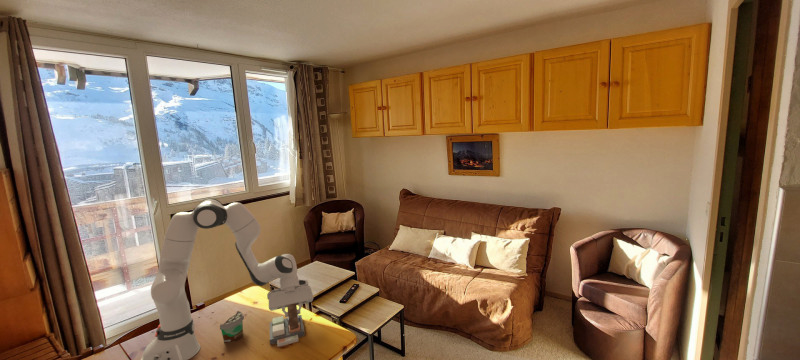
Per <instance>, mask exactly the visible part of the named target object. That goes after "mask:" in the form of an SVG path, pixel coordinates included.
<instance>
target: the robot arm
mask: <svg viewBox="0 0 800 360" xmlns="http://www.w3.org/2000/svg"><path fill="white" fill-rule="evenodd" d="M222 225H225V226H227V227H228V228H229V229H230V231H231V232H232V233H233V235H234V237H235V243H234V244H235V248H236V251H237V253H238V255H239V257H240V259H241V260H242V262H243V264H244V265H245V267H246V269H247V272H248V273H249V276H250V279H251V281H252V283H253V284H255V285H257V286H261V287H262V286H265V285H268V283H270V282H272V281H275V280H276V279H279V288H277V289H271V290H269V291H268V292H267V300H268V310H269V311H271V312H272V311H275V310H281V311H282V313H284V317H285V318H288V311H286V308H288V307H287V305H291V304H296V305H297V306H298V307H299V308H297V314H298V315H302V314H301V309H302V307H303V305H304V304H307V303H312V302H313V300H314V296H313V295H314V294H313V291H312V287H311V286H310V285H309V281H308V280H307V279H299V276H298V267H297V262H296V259H295V257H294V255H292V254H290V253H283V254H281V255H276V256H274V257H272V258H270V259H267V260H266V261H264V262H262V263H260V262H258V260H257V258H256V256H255V254H254V252H253V250H252V246H253V244H254V243H255V241H257V239H258V238H259V236H260V235H261V231H262V229H261V227H262V226H261V224H260V223H259V221H258V219H256V217H255V216H254V214H253V213H252V212H251V211H250V210H249V209H248V208H247V207H246V206H245V205H244V204H243V203H241V202H237V201H236V202H231V203H229V204H228V205H224V204H223V203H222V202H221V201H220V200H218V199H215V198H207V199H203V200H202V201H200V202H199V203H198V204H197V205H196V206H195V207H194V208H193V209H192V211H190V212H188V211H181V212H177V213H175V214H174V215H173V216H172V217H171V219H170V221H169V223H168V226H167V227H166V228H167V229H166V230H165V233H164V239H163V242H162V243H163V244H162V247H161V251H160V257H159V263H158V264H159V265H158V268H157V273H156V275H155V278H154V281H153V283H152V284H151V286H150V287H151V288H150V295H151V299H152V300H153V303H154V305H155V307H156V310H157V314H158V319H159V325H158V326H157V327H156V331H155V334H154V335H155V336H154V337H155V338H154V339H152V340H151V341H150V343H148V344H147V346H146V347H145V349H144V350H143V355H142V357H141V358H140V360H190V359H191V358H193V357H194V356H196V354H197V353H198V352H199V351H200V349H201V345H200V343H199V341H198V339H197V337H196V334H195V323H194V319H193V318H192V313H191V307H190V306H191V305H190V302H189V300H188V298H187V297H188V296H187V293H186V289H185V287H186V280H187V278H188V277H187V276H188V273H189V272H188V271H189V268H190V264H191V260H192V255H193V250H194V248H195V243H196V239H197V236H198V231H199V229H200V228H201V229H203V230H208V229H213V228H216V227H220V226H222Z"/></svg>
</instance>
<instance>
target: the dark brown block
mask: <svg viewBox="0 0 800 360" xmlns="http://www.w3.org/2000/svg"><path fill="white" fill-rule="evenodd" d="M297 306H298V305H296V304H291V305H287V307H286V308H287V312H288V317H289V326H290V329H293V328H297V327H299V324H298V315H299V314H297V310H298V307H297ZM288 317H287V318H288Z"/></svg>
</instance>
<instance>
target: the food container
mask: <svg viewBox="0 0 800 360" xmlns="http://www.w3.org/2000/svg"><path fill="white" fill-rule="evenodd" d="M244 317H245V316H244V314H243V313H242V312H241V311H240V310H237V311H236V313H235V314H234V315H233V316H231V317H229V318H228V319H227V320H226V321H225V322H224V323H223V324H221V323H220V325H219V330H221V331H220V332H221V335H222V339H223V343H224V344H231V343H234V342H236V341H239V340H240V339H241V338H242V337H243V336H244V330H243V329H244V327H243V325H244V324H243V321H244Z"/></svg>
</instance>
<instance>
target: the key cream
mask: <svg viewBox="0 0 800 360" xmlns="http://www.w3.org/2000/svg"><path fill="white" fill-rule="evenodd" d="M283 334H285V330H284V323H283V324H279V325H275V326H273V337H275V336H279V335H283Z"/></svg>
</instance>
